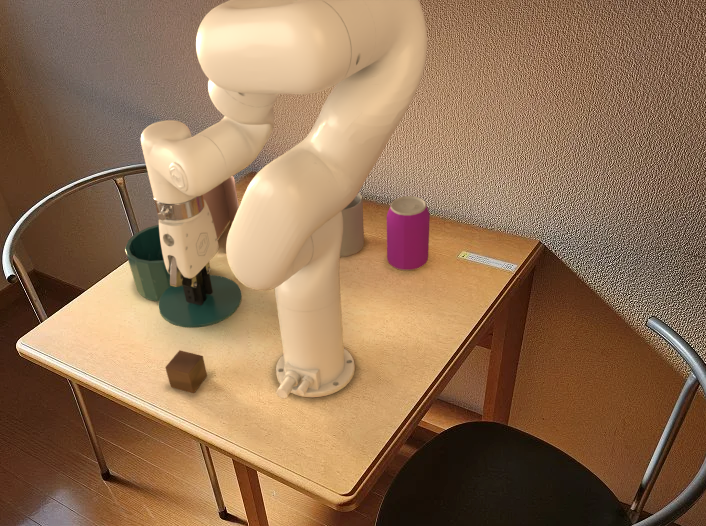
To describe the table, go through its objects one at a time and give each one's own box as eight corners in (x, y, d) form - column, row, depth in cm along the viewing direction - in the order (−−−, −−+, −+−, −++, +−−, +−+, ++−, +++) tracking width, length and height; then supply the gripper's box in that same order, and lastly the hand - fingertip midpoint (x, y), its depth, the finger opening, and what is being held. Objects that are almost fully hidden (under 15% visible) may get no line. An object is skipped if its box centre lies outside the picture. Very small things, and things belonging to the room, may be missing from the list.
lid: (216, 338, 121) (210, 306, 117) (143, 320, 127) (134, 289, 122) (256, 288, 131) (252, 256, 126) (187, 274, 136) (180, 243, 131)
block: (193, 393, 117) (188, 373, 114) (170, 387, 119) (164, 367, 116) (207, 376, 120) (202, 355, 117) (184, 370, 122) (179, 350, 119)
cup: (353, 229, 149) (351, 184, 142) (371, 248, 143) (369, 202, 136) (314, 240, 147) (310, 195, 140) (331, 260, 141) (328, 214, 134)
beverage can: (383, 271, 137) (382, 214, 129) (391, 249, 142) (391, 192, 134) (424, 275, 134) (426, 217, 126) (431, 252, 140) (433, 195, 132)
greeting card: (225, 220, 156) (214, 153, 146) (258, 221, 154) (249, 154, 144) (207, 249, 149) (193, 181, 138) (242, 251, 147) (230, 182, 136)
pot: (183, 307, 135) (173, 268, 129) (122, 294, 140) (110, 256, 134) (219, 267, 143) (211, 229, 138) (160, 256, 148) (151, 218, 143)
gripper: (172, 233, 109) (194, 329, 121) (225, 181, 119) (240, 275, 131) (131, 225, 111) (156, 320, 124) (185, 175, 122) (204, 268, 134)
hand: (199, 296), depth 128 cm, fingers closed on lid, 2 cm apart
